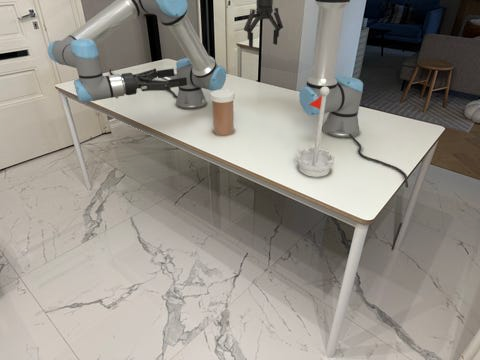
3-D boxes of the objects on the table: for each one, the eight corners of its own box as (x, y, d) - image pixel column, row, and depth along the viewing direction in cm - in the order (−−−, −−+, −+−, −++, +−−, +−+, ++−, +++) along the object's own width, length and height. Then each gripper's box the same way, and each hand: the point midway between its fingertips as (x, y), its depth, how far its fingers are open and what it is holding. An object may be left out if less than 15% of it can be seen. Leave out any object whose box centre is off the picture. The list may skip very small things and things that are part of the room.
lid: (220, 104, 136) (219, 99, 135) (205, 97, 142) (205, 92, 141) (239, 99, 141) (239, 93, 140) (225, 92, 148) (224, 87, 146)
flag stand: (319, 157, 130) (331, 78, 113) (339, 173, 119) (355, 90, 103) (289, 163, 126) (296, 83, 109) (307, 181, 115) (318, 95, 99)
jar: (221, 137, 145) (220, 99, 135) (209, 130, 150) (207, 93, 141) (237, 131, 149) (237, 94, 140) (225, 125, 155) (224, 89, 146)
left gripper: (117, 85, 131) (170, 78, 140) (133, 106, 113) (193, 95, 121) (113, 65, 127) (168, 59, 135) (129, 83, 109) (191, 74, 117)
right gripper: (283, -6, 163) (280, 41, 174) (236, -3, 154) (237, 46, 166) (292, -4, 157) (288, 44, 169) (243, -2, 148) (243, 49, 160)
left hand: (180, 76), depth 128 cm, fingers open, 13 cm apart
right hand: (263, 45), depth 167 cm, fingers open, 13 cm apart
